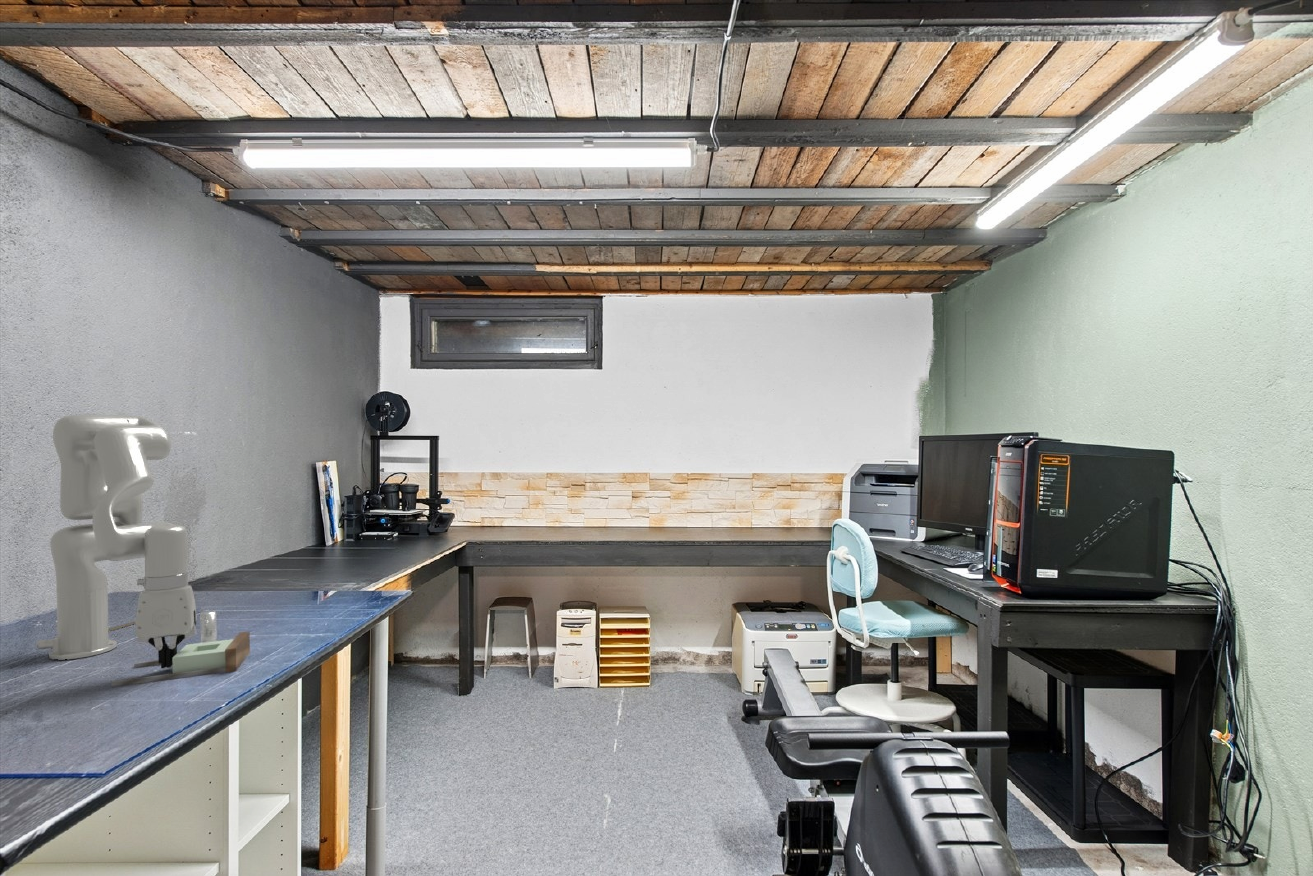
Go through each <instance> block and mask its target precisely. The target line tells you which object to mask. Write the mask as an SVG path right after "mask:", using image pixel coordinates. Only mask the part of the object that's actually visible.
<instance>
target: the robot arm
mask: <svg viewBox="0 0 1313 876" xmlns="http://www.w3.org/2000/svg"><path fill="white" fill-rule="evenodd" d="M52 440H53V445H54V448H55V450H56V453H57V456H58V459H59V463H60V489H59V490H60V492H59V493H60V495H59V502H60V503H59V507H60V511H61V514H62V516H63V517H64V518H65V519H68V520H70V521H71V520H72V521H84V520H86V521H88V520H92V523H87V524H78V525H77V524H76V525H71V526H66V527H64V528H61V529H59V530H57V531H56V532H54V534H53V535H52V536H51V538H50V542H49V544H50V545H49V547H50V552H51V556H52V560H53V565H54V570H55V584H56V586H55V588H56V617H57V619H56V620H57V621H56V623H57V626H56V627H57V629H56V630H57V636H56V637H53V638H51V639H49V638H48V639H40V640H37V643H36V648H37V649H38V650H46V649H51V650H52V651H50V652H49V653H48V657H49V659H50V660H54V659H58V660H57V661H62V660H63V661H65V659H67V660H75V659H76V660H77V659H81V658H87V657H91V656H97V655H101V654H104V653H106V652H110V651H112V650H114V649H115V648H116V647H117V646H118V644H117V641H116V640H114V639H110V638H109V637H110V636H109V632H108V629H109V600H108V599H109V598H108V597H109V596H108V594H109V593H108V591H109V590H108V587H109V586H108V578H107V575H106V574H105V573H104V571H102V570H101V569H100V568H99V567H98V566H97V565H96V564H95V563H97V562H102V561H111V562H123V561H127V560H135V559H141V558H144V577H143V578H140V579H139V578H138V579H137V580H136V585H137V586H143V589H144V590H141V591H140V592H139V596H138V600H137V601H138V602H137V608H136V617H135V622H136V624H135V636H136V637H137V638H136V641H137V642H138V643H143V644H144V643H145V644H149V645H151V646H153V647H154V648H155V650H156V651H157V655H158V659H157V660H158V662H159V664H161V665H160V668H161V669H166V668H168V669H169V668H172V667H173V660H172V658H173V657H174V656H175V655H176V654H177V653H178V645H179V644H181V642H182V641H183V640H187V639H191V638H194V637H195V636H197V634H198V630H197V628H196V626H197V623H198V622H197V607H196V600H195V596H194V591H193V588H192V585H191V584H190V585H189V566H188V565H189V560H188V557H189V556H188V555H189V554H188V550H189V548H188V546H189V545H188V531H187V528H186V527H185V526H184V525H181V524H178V525H177V524H174V523H171V522H168V521H157V522H147V523H145V522H144V523H143V495H142V494H143V493H145V492H147V491H149V490H150V489H151V488H152V486H153V485H154V481H155V480H154V476H153V474H152V471H151V469H150V464H149V462H148V461H158V460H159V461H160V460H165V458H167V457H168V456H169V455H170V453H171V449H172V443H171V439H170V436H169V433H167V431H166V430H165V429H164V428H163V427H162V426H161V425H159V424H158V423H156V422H154V421H152V420H150V419H148V418H146V417H143V416H140V415H123V414H71V415H66V416H63V417H61V418H59V419H57V420H56V422H55V424H54V427H53V431H52ZM166 637H169V643H167V638H166Z"/></svg>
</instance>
